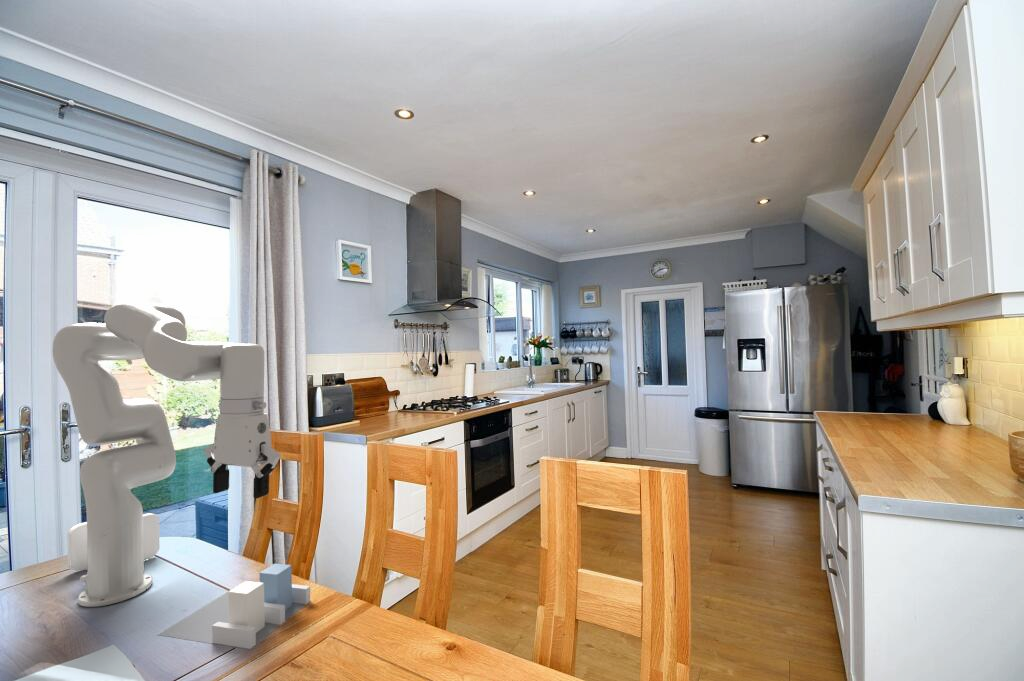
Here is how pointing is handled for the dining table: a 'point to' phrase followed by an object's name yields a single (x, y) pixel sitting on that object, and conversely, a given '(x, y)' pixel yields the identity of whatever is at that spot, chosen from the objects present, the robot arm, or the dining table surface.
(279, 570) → the blue plug
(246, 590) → the off-white plug
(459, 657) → the dining table surface
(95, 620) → the dining table surface
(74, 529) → the cable organizer
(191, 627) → the comb board
